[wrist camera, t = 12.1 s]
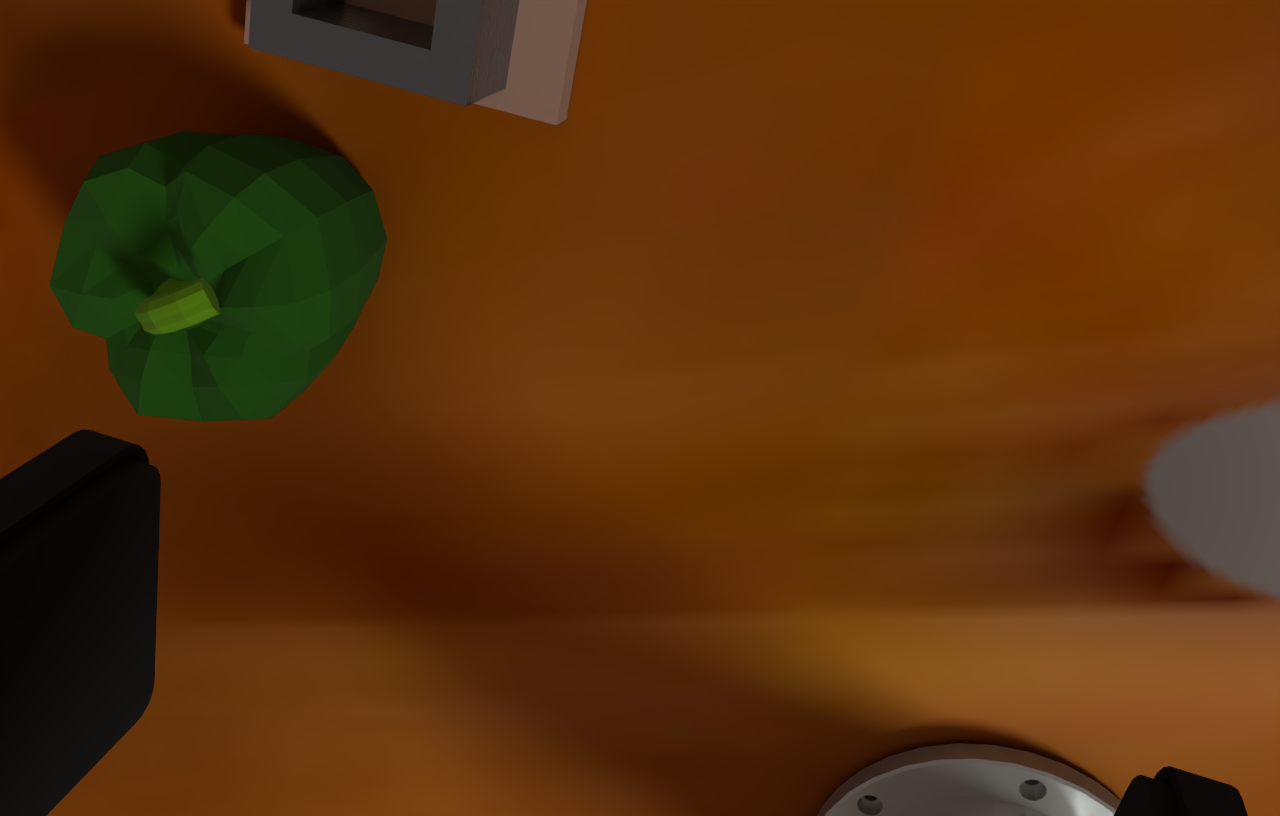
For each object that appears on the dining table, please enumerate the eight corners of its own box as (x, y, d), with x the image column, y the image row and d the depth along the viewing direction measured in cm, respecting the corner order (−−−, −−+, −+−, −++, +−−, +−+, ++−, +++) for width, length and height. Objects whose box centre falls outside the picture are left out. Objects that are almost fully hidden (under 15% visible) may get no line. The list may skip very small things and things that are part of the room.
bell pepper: (211, 340, 42) (13, 463, 33) (174, 100, 39) (-57, 165, 30) (436, 359, 40) (291, 494, 31) (417, 109, 37) (249, 181, 28)
